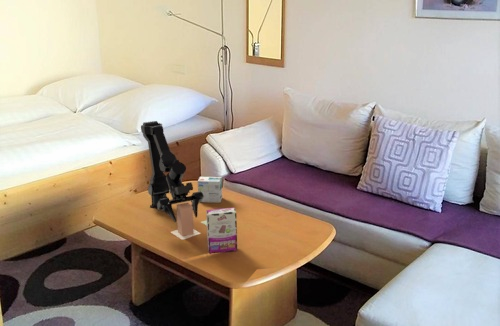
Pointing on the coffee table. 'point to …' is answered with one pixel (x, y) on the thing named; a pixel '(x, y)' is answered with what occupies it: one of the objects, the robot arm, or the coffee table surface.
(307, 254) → the coffee table surface
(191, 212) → the terracotta block
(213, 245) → the candy bar box
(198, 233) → the mat
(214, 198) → the light bulb box
